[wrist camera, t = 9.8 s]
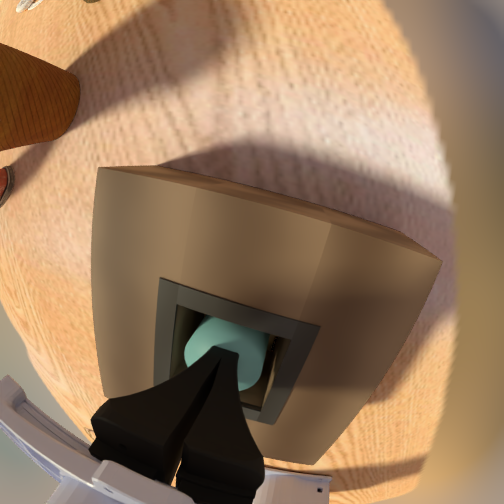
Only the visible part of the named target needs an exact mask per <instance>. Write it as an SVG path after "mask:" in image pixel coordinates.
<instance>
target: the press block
mask: <svg viewBox="0 0 504 504" xmlns="http://www.w3.org/2000/svg"><path fill="white" fill-rule="evenodd" d="M442 262H443V261H441V260H440V259H439V258H437V257H436V256H435V255H433V254H432V253H430V252H429V251H428V250H426V249H425V248H423V247H422V246H420V245H419V244H418V243H416V242H415V241H413V240H412V239H410V238H409V237H407V236H406V235H404V234H403V233H401V232H399V231H397V230H394V229H391V228H388V227H385V226H382V225H379V224H377V223H374V222H371V221H368V220H365V219H362V218H359V217H356V216H352V215H349V214H346V213H343V212H340V211H337V210H333V209H330V208H327V207H324V206H320V205H317V204H314V203H310V202H307V201H303V200H300V199H296V198H293V197H289V196H285V195H282V194H278V193H274V192H271V191H267V190H263V189H259V188H255V187H251V186H247V185H243V184H239V183H235V182H231V181H227V180H222V179H218V178H214V177H209V176H205V175H200V174H195V173H191V172H186V171H181V170H176V169H171V168H166V167H161V166H116V167H98V172H97V179H96V188H95V197H94V208H93V221H92V242H91V287H92V307H93V321H94V332H95V341H96V349H97V356H98V363H99V370H100V375H101V381H102V386H103V392H104V396H105V397H107V398H109V399H110V398H116V397H121V396H126V395H130V394H134V393H137V392H140V391H144V390H146V389H149V388H152V387H154V386H156V385H158V384H161V383H163V382H165V381H167V380H169V379H170V378H172V377H174V376H176V375H177V374H179V373H180V372H182V371H183V370H185V369H186V368H188V366H187V364H186V361H185V356H184V352H185V347H186V345H187V343H188V341H189V340H190V338H191V337H192V335H193V334H194V332H195V331H196V329H197V328H198V326H199V325H200V323H201V322H202V320H203V319H204V314H207V315H210V316H213V317H216V318H219V319H222V320H225V321H228V322H231V323H235V324H238V325H241V326H244V327H248V328H251V329H254V330H258V331H261V332H265V333H268V334H272V335H275V336H279V337H278V339H277V342H276V345H275V347H274V350H273V352H272V351H270V352H269V354H266V355H265V359H264V363H263V368H262V372H261V376H260V378H259V379H258V381H257V382H256V383H255V384H254V385H253V386H251V387H249V388H247V389H245V390H241V391H239V395H240V400H241V405H242V409H243V413H244V416H245V419H246V422H247V424H248V427H249V430H250V432H251V435H252V437H253V439H254V441H255V443H256V445H257V447H258V448H259V450H260V452H261V454H262V455H263V457H266V458H271V459H276V460H281V461H287V462H293V463H299V464H306V465H314V464H315V463H316V462H317V461H318V460H319V459H320V458H321V457H322V455H323V454H324V453H325V452H326V451H327V450H328V449H329V448H330V447H331V446H332V444H333V443H334V442H335V441H336V440H337V439H338V437H339V436H340V435H341V434H342V433H343V431H344V430H345V429H346V428H347V427H348V425H349V424H350V423H351V422H352V420H353V419H354V418H355V417H356V415H357V414H358V413H359V411H360V410H361V409H362V407H363V406H364V405H365V403H366V402H367V400H368V399H369V398H370V396H371V395H372V393H373V392H374V391H375V389H376V388H377V386H378V385H379V383H380V382H381V380H382V379H383V377H384V376H385V374H386V373H387V371H388V369H389V368H390V366H391V365H392V363H393V361H394V360H395V358H396V356H397V355H398V353H399V351H400V350H401V348H402V346H403V344H404V343H405V341H406V339H407V337H408V335H409V334H410V332H411V330H412V328H413V326H414V324H415V322H416V320H417V318H418V316H419V314H420V312H421V310H422V308H423V306H424V304H425V302H426V300H427V298H428V295H429V293H430V291H431V289H432V286H433V284H434V282H435V279H436V277H437V275H438V272H439V270H440V267H441V265H442Z"/></svg>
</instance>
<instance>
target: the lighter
mask: <svg viewBox="0 0 504 504" xmlns="http://www.w3.org/2000/svg"><path fill="white" fill-rule="evenodd" d="M14 181H15V175H14V170H13V168H12V166H5V167H3V168H2V169H0V208H1V206H2V205H3V204H4V203H5V201H6V200H7V198H8V196H9V194H10V192H11V190H12V188H13V186H14Z"/></svg>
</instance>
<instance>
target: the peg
mask: <svg viewBox="0 0 504 504" xmlns="http://www.w3.org/2000/svg"><path fill="white" fill-rule="evenodd" d="M269 337H270V334H268V333H265V332H261V331H258V330H254V329H251V328H248V327H244V326H241V325H238V324H235V323H231V322H228V321H225V320H222V319H219V318H216V317H213V316H210V315H207V314H206V316H205V317H204V319H203V320H202V322H201V323H200V325H199V326H198V328H197V329H196V331H195V332H194V334H193V335H192V337H191V338H190V340H189V341H188V343H187V345H186V347H185V352H184V356H185V361H186V364H187V366H188V367H189V366H190V365H192V364H193V363H194V362H195V361H197V360H198V359H199V358H200V357H201V356H203V355H204V354H205V353H206V352H207V351H208V350H209V349H210V348H211V347H212V346H214V345H215V346H218V347H221V348H224V349H227V350H230V351H233V352H236V353H238V354H239V359H238V370H237V374H238V388H239V391H241V390H245V389H247V388H249V387H251V386H253V385H254V384H255V383H256V382H257V381H258V379H259V378H260V376H261V372H262V368H263V363H264V359H265V355H266V350H267V346H268V341H269Z"/></svg>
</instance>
